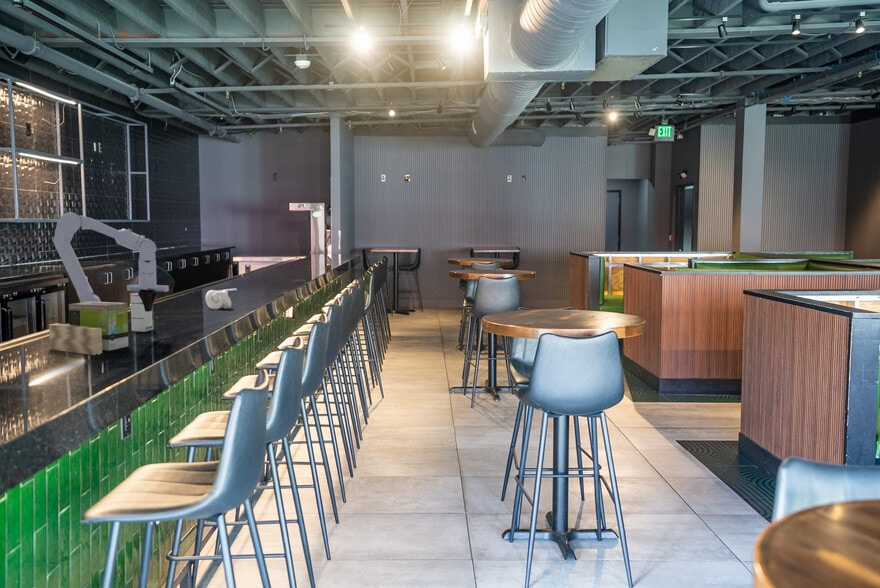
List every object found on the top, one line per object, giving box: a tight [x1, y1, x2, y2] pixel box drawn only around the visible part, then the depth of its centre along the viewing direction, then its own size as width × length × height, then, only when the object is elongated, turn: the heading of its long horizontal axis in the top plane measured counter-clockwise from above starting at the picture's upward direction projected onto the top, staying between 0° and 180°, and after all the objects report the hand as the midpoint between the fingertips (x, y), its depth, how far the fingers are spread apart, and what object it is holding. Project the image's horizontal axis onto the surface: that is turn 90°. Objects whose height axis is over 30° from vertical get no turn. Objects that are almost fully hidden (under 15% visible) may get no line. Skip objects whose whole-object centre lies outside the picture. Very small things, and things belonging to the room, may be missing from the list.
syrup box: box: [130, 292, 155, 333], centre depth 274 cm, size 6×6×14 cm
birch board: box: [48, 323, 103, 356], centre depth 227 cm, size 20×3×8 cm, turn 65°
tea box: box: [68, 301, 129, 351], centre depth 235 cm, size 15×10×15 cm, turn 76°
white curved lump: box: [204, 289, 232, 310], centre depth 347 cm, size 11×12×9 cm
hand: (148, 311), depth 257 cm, fingers closed
